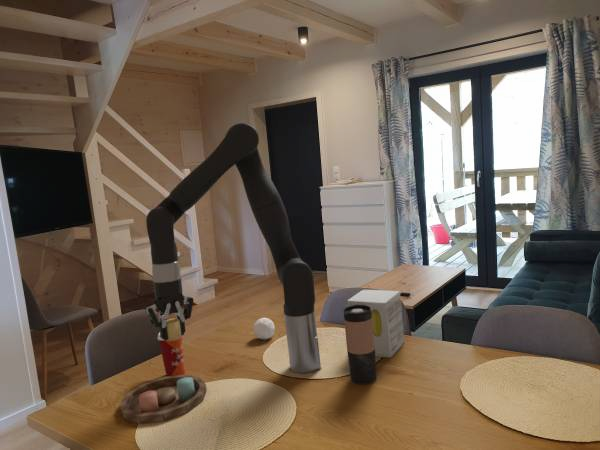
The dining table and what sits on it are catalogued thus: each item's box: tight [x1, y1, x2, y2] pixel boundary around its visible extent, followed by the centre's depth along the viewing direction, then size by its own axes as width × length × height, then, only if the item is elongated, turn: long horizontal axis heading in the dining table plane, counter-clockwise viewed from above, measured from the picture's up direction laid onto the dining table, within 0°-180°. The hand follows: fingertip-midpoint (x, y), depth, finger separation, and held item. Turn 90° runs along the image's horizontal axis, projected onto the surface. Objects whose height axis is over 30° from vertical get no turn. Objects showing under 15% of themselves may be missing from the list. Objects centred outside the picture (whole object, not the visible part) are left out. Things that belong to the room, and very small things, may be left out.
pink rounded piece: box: [139, 391, 159, 413], centre depth 117 cm, size 4×4×5 cm
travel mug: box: [343, 305, 378, 385], centre depth 124 cm, size 8×8×20 cm
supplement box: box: [347, 289, 405, 359], centre depth 144 cm, size 13×13×18 cm
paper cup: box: [157, 331, 186, 377], centre depth 141 cm, size 8×8×14 cm
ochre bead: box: [166, 318, 183, 341], centre depth 127 cm, size 4×4×5 cm
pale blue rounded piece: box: [177, 377, 195, 402], centre depth 122 cm, size 4×4×5 cm
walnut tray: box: [119, 374, 208, 425], centre depth 123 cm, size 22×22×3 cm
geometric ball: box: [252, 317, 275, 341], centre depth 164 cm, size 8×8×8 cm
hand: (173, 336), depth 127 cm, fingers closed on ochre bead, 4 cm apart
